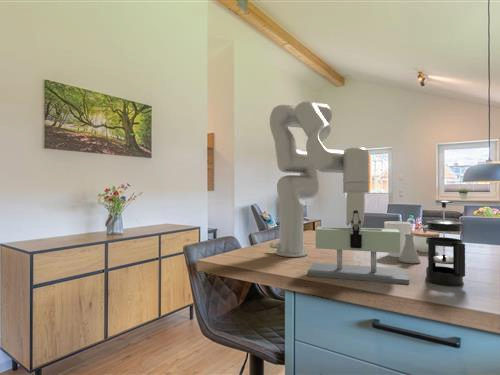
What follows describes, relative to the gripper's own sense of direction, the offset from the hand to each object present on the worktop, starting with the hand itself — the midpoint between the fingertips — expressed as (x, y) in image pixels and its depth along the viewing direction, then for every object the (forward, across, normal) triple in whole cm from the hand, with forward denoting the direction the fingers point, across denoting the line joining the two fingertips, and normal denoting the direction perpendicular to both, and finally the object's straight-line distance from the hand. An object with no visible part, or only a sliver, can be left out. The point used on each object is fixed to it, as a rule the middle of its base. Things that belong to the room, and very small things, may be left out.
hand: (356, 245), depth 102 cm
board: (+9, 0, 0) cm, 9 cm away
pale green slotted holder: (+1, 0, 0) cm, 1 cm away
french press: (+9, +1, +24) cm, 26 cm away
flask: (+9, -24, +18) cm, 31 cm away
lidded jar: (+9, -48, +27) cm, 56 cm away
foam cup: (+9, -34, +15) cm, 38 cm away
